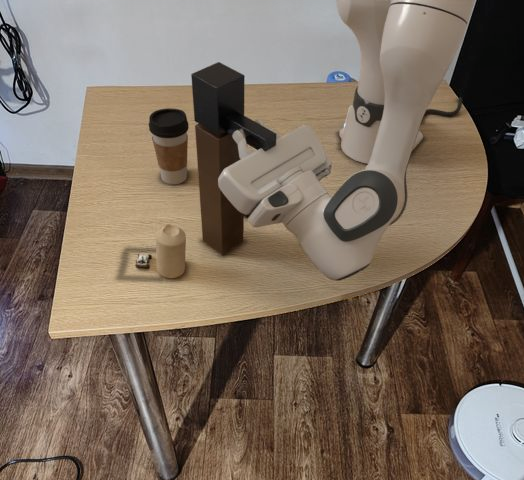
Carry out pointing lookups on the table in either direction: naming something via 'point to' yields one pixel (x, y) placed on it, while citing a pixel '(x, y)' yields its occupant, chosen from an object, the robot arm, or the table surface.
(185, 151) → the coffee cup
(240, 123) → the black hammer
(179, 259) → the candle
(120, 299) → the table surface
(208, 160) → the post
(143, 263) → the toy car
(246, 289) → the table surface
